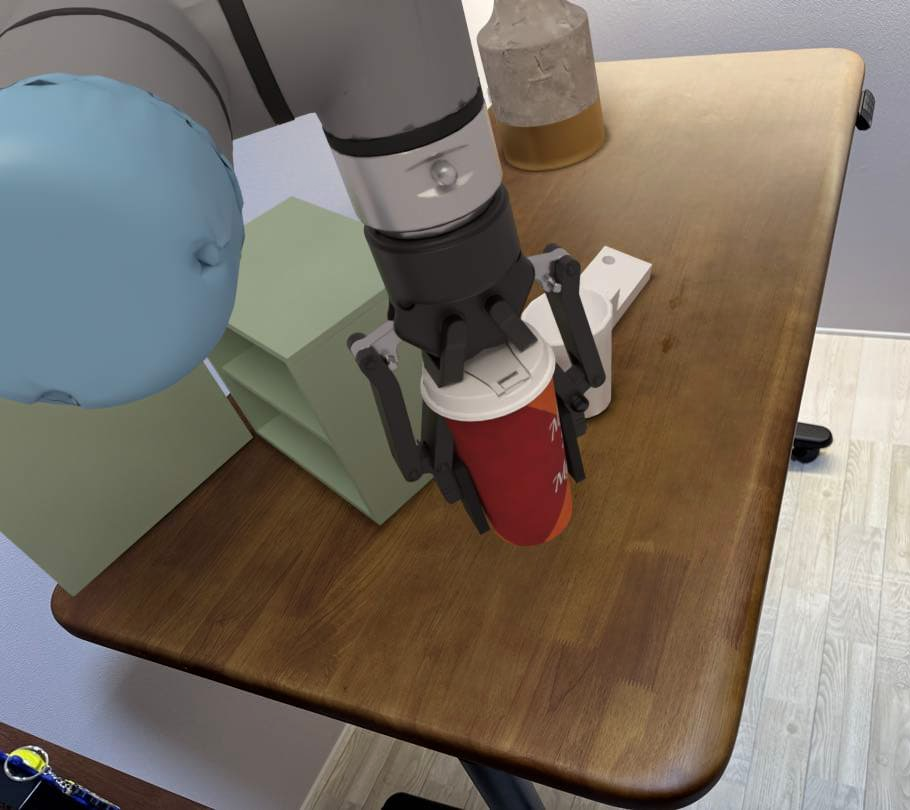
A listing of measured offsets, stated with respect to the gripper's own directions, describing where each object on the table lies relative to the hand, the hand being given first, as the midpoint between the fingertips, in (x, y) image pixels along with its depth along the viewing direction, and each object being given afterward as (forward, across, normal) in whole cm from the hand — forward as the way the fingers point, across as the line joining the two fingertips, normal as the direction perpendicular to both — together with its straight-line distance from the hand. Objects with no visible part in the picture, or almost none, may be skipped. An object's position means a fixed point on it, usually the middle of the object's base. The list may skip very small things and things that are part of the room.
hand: (525, 493), depth 54 cm
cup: (+22, +16, +26) cm, 38 cm away
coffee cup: (+2, 0, 0) cm, 2 cm away
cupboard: (+22, -6, +39) cm, 45 cm away
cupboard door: (+22, -33, +45) cm, 60 cm away
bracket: (+21, +28, +40) cm, 54 cm away
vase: (+21, +46, +87) cm, 101 cm away
